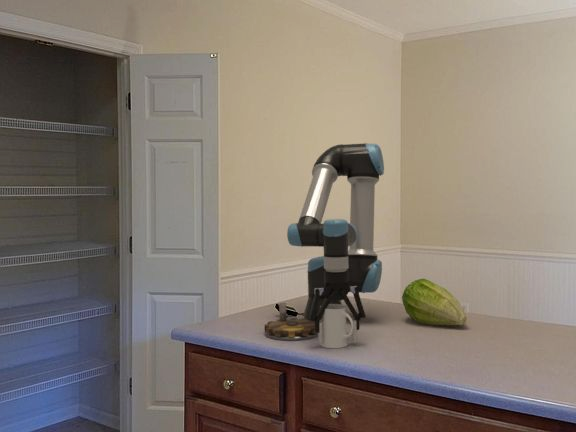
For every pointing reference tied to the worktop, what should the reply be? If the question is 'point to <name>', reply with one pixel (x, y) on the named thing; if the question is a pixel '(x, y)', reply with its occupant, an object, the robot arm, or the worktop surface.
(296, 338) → the base plate
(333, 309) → the mug
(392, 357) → the worktop surface
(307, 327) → the sprocket
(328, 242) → the robot arm
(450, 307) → the lettuce
